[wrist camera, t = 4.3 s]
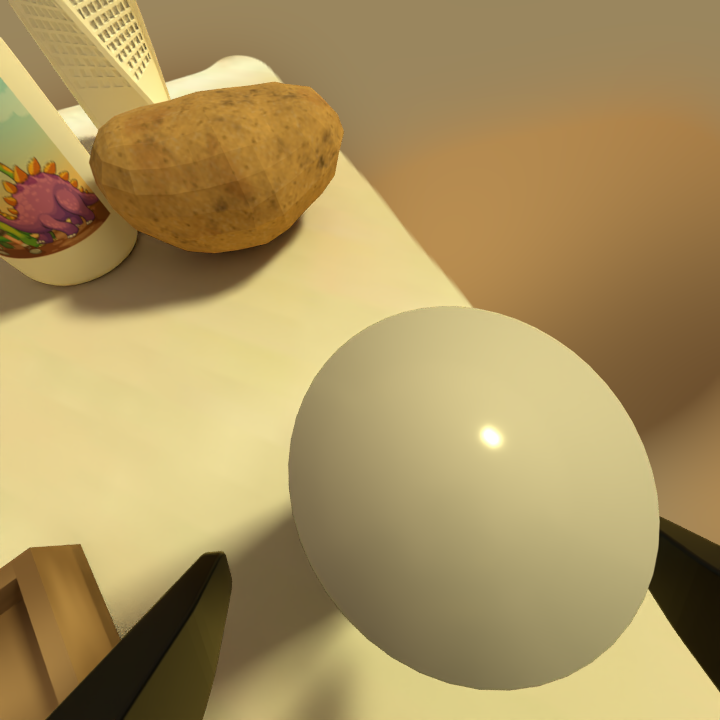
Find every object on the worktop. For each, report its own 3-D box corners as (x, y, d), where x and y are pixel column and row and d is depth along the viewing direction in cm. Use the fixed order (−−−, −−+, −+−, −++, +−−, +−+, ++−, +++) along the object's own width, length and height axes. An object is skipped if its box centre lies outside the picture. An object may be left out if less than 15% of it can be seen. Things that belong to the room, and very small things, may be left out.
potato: (372, 238, 24) (375, 112, 16) (168, 311, 21) (67, 201, 14) (319, 157, 27) (303, 27, 20) (142, 211, 25) (52, 84, 18)
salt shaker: (467, 512, 16) (756, 477, 4) (388, 595, 15) (489, 885, 3) (395, 431, 18) (455, 247, 6) (318, 499, 16) (200, 432, 5)
